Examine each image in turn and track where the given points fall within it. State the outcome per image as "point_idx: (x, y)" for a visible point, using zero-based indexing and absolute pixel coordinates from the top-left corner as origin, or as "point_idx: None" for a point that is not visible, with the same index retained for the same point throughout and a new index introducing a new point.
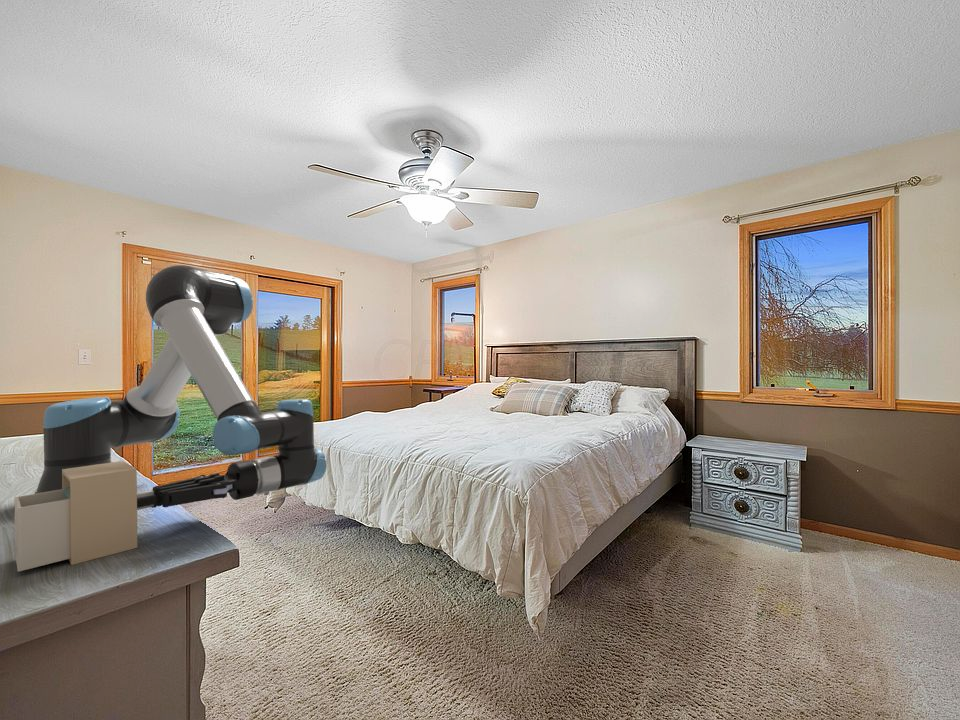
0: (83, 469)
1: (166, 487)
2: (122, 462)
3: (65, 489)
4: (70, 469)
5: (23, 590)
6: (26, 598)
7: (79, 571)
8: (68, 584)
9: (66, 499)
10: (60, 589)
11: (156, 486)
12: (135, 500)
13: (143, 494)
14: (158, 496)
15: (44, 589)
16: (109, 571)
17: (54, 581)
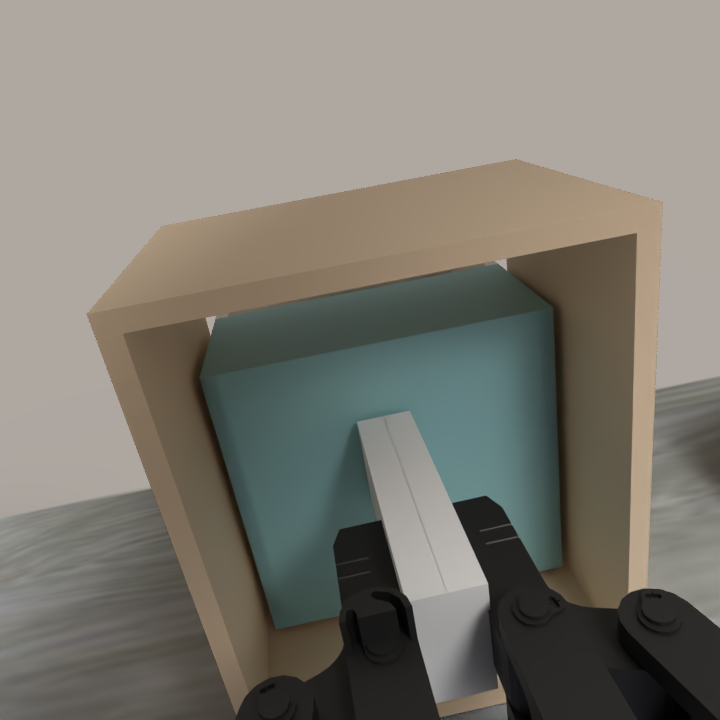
0: (421, 191)
1: (556, 704)
2: (561, 217)
3: (479, 269)
4: (479, 171)
5: (148, 504)
6: (73, 522)
7: (158, 588)
8: (60, 582)
9: (225, 314)
10: (42, 572)
11: (641, 609)
12: (170, 529)
13: (391, 554)
14: (329, 670)
15: (95, 540)
16: (34, 675)
17: (138, 547)
